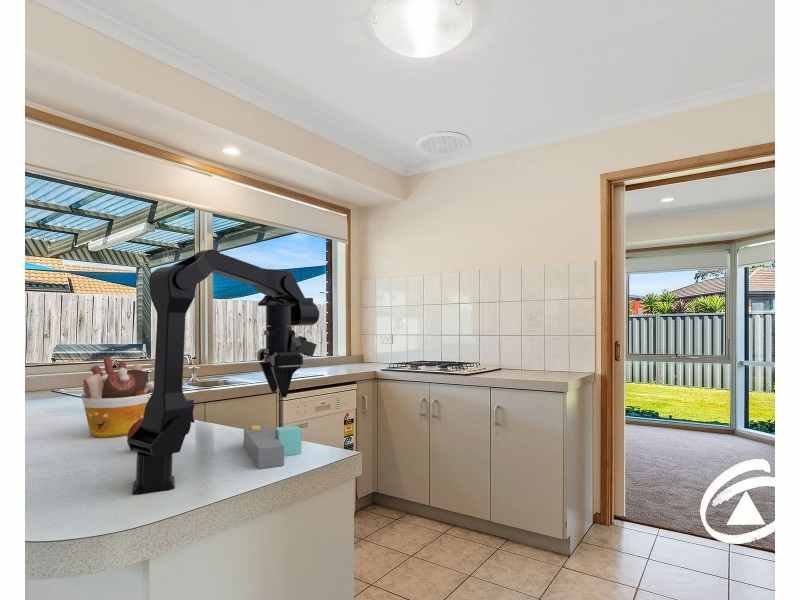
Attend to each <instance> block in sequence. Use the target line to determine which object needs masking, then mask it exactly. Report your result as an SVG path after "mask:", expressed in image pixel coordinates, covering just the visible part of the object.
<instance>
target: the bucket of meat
mask: <svg viewBox="0 0 800 600" xmlns="http://www.w3.org/2000/svg"><path fill="white" fill-rule="evenodd" d="M103 364H104V365H103V366H104V369H105V374H104V373H103V371H102V369H101V367H100V366H99V365H93V366H92V369H91V372H92V374H91V376H86V377H84V378H83V380H82V390H83V394H82V395H81V399H82V400H81V401H82V403H83V407H84V412H85V416H86V420H87V426H88V430H89V433H90V435H92V436H93V437H94V438H98V439H99V438H101V439H105V438H106V439H108V438H110V439H111V438H120V437H125V436H126V437H127V435H128V431H129V429H130V428H131V426H132V425H133V424H134V423H136V422H137V421H138V420H139V419H140V416H142V415H144V411H145V407H146V404H147V403H148V401H149V399H150V397H151V390H154V382H151V381H149V374H148V371H145V370H141V369H142V367H143V365H142V364H140V363H135V364H134V365H133V366H132V368H131V369H128V370H127V364H126V362H125V361H124V360H122V361H120V362H118V364H117V365H118V369H117V371H114V367H113V363H112V358H110V356H105V357H104V359H103Z"/></svg>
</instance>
